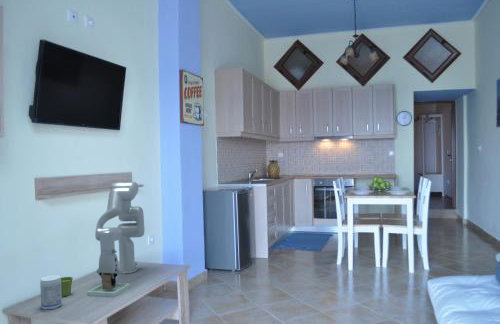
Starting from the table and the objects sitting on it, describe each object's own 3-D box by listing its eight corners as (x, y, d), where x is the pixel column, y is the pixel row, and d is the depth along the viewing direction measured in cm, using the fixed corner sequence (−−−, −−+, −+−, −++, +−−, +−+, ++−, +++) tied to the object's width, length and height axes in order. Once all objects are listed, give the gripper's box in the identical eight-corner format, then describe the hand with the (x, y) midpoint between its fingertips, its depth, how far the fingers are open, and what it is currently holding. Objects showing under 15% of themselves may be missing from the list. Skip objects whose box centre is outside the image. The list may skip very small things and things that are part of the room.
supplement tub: (42, 305, 212) (40, 276, 211) (62, 302, 215) (61, 274, 215) (40, 311, 203) (39, 281, 202) (61, 308, 206) (60, 278, 206)
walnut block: (107, 286, 233) (107, 272, 233) (115, 286, 232) (115, 272, 232) (102, 289, 228) (102, 275, 228) (110, 289, 227) (109, 275, 227)
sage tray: (105, 286, 240) (104, 282, 240) (130, 287, 236) (130, 283, 236) (87, 295, 224) (87, 291, 224) (114, 297, 220) (113, 293, 220)
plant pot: (66, 298, 221) (66, 282, 221) (51, 297, 223) (50, 281, 223) (77, 292, 230) (76, 276, 230) (62, 291, 232) (61, 276, 232)
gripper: (125, 251, 231) (126, 283, 232) (98, 250, 236) (99, 282, 236) (117, 254, 224) (118, 287, 224) (90, 253, 228) (91, 286, 229)
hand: (109, 284), depth 230 cm, fingers closed on walnut block, 4 cm apart
